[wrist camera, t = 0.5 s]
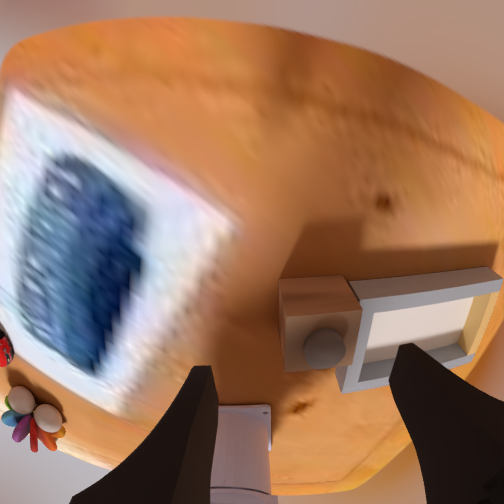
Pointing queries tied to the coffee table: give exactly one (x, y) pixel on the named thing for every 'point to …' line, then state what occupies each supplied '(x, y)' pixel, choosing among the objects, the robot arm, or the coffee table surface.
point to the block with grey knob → (317, 322)
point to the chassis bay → (419, 321)
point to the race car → (5, 351)
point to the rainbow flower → (32, 419)
